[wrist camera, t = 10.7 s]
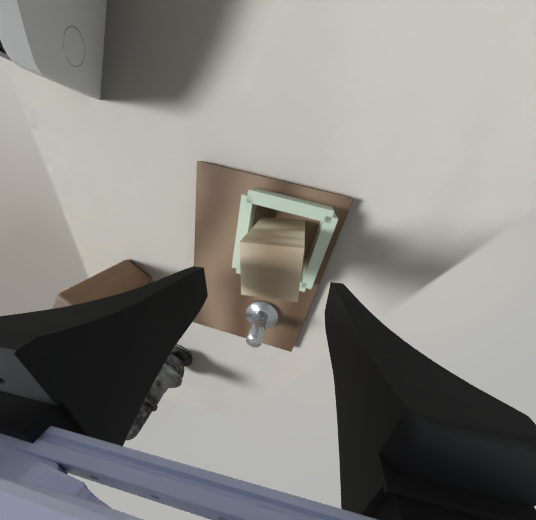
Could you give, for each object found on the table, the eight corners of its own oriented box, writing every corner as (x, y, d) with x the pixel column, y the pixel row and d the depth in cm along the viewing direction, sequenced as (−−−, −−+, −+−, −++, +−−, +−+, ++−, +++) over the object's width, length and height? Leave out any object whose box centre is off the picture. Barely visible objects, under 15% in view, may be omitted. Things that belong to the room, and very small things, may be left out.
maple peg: (305, 219, 17) (304, 248, 11) (300, 258, 19) (297, 302, 13) (262, 216, 18) (239, 241, 12) (261, 254, 20) (241, 294, 14)
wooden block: (141, 293, 27) (83, 338, 20) (117, 275, 26) (47, 314, 19) (153, 277, 25) (93, 320, 18) (127, 257, 25) (55, 293, 17)
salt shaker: (191, 371, 33) (137, 467, 23) (160, 358, 33) (91, 448, 23) (196, 350, 30) (137, 449, 20) (162, 337, 30) (85, 428, 20)
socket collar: (337, 207, 16) (340, 212, 15) (309, 282, 20) (309, 293, 18) (249, 185, 17) (242, 188, 15) (237, 262, 21) (231, 271, 19)
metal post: (281, 305, 22) (277, 333, 18) (274, 329, 24) (268, 359, 20) (249, 296, 22) (237, 322, 19) (244, 320, 24) (232, 348, 20)
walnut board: (350, 197, 17) (353, 199, 16) (291, 345, 26) (291, 351, 25) (202, 161, 18) (197, 161, 17) (196, 316, 27) (192, 321, 26)
